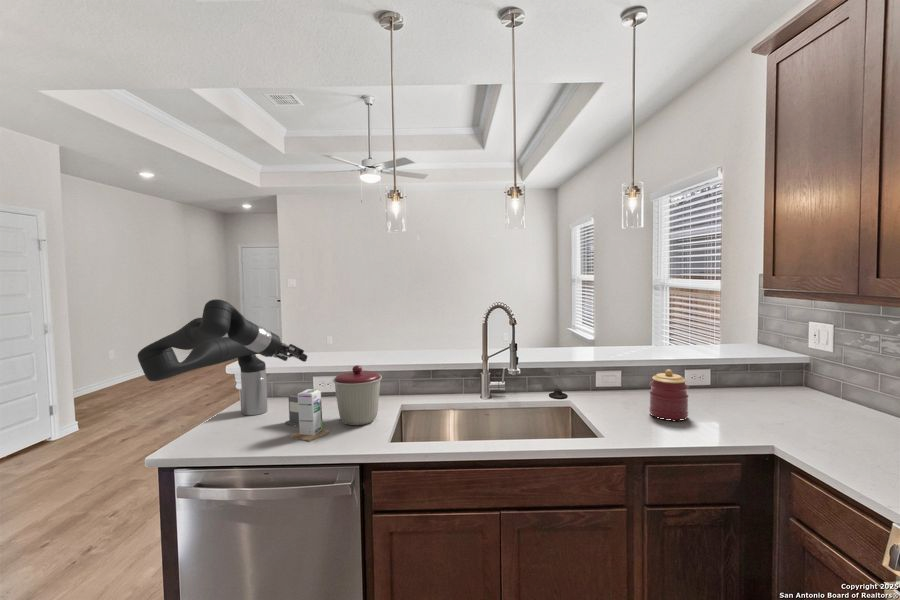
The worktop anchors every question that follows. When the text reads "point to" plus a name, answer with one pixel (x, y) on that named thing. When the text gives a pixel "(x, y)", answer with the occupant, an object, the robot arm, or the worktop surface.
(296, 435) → the coaster
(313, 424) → the syrup box
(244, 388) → the robot arm
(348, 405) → the canister
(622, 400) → the worktop surface
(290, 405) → the label board
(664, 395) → the canister
